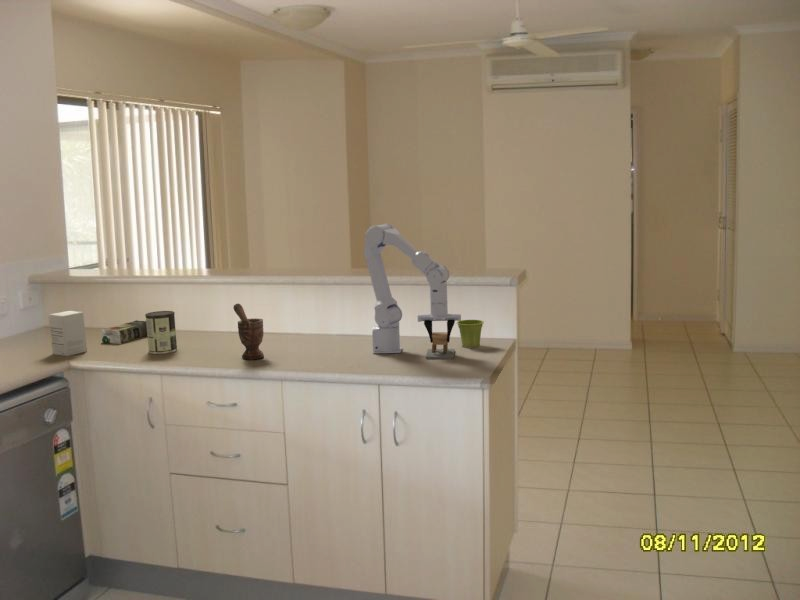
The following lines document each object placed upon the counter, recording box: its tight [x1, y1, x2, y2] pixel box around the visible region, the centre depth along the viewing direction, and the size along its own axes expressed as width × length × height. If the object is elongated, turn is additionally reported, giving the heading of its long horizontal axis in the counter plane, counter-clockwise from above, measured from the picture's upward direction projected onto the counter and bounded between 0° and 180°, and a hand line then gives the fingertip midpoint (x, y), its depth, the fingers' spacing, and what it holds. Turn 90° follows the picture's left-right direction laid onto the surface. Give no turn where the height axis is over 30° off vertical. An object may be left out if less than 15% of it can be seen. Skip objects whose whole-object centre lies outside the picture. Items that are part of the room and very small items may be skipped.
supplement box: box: [48, 310, 88, 357], centre depth 325 cm, size 9×9×15 cm
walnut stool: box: [431, 331, 449, 353], centre depth 300 cm, size 6×5×6 cm
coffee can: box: [144, 310, 178, 355], centre depth 323 cm, size 10×10×14 cm
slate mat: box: [425, 348, 455, 360], centre depth 301 cm, size 9×12×1 cm
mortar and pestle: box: [233, 303, 265, 361], centre depth 304 cm, size 12×9×20 cm
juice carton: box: [101, 319, 148, 345], centre depth 350 cm, size 20×10×6 cm, turn 154°
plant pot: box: [456, 319, 484, 349], centre depth 313 cm, size 9×9×9 cm
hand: (440, 342), depth 300 cm, fingers closed on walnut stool, 5 cm apart
